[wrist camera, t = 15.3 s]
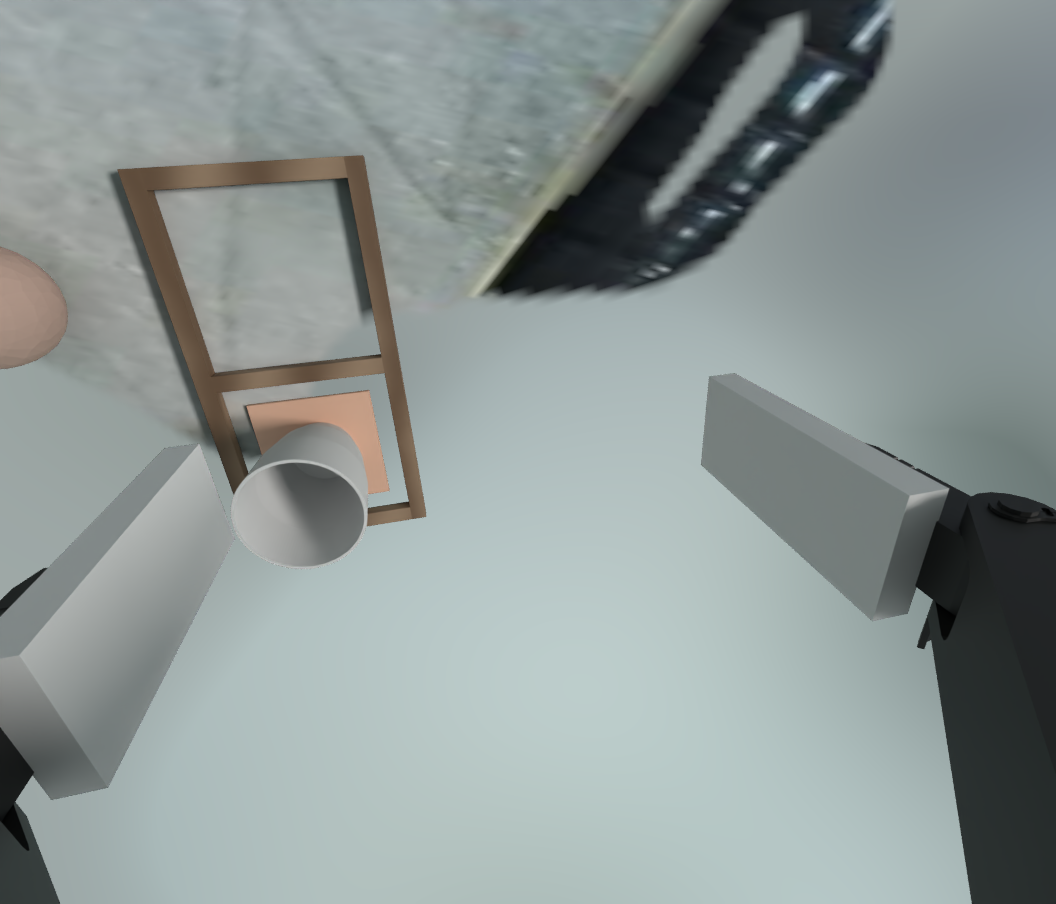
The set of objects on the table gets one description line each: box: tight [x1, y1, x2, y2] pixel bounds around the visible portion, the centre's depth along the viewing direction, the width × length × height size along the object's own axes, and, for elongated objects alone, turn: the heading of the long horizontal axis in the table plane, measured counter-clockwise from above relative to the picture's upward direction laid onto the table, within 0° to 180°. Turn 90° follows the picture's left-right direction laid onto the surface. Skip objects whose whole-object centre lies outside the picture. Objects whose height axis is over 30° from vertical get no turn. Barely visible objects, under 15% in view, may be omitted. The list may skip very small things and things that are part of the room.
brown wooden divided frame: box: [117, 155, 426, 526], centre depth 40 cm, size 14×28×1 cm, turn 4°
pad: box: [246, 390, 389, 494], centre depth 43 cm, size 9×9×1 cm
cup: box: [231, 422, 368, 569], centre depth 38 cm, size 8×8×10 cm
